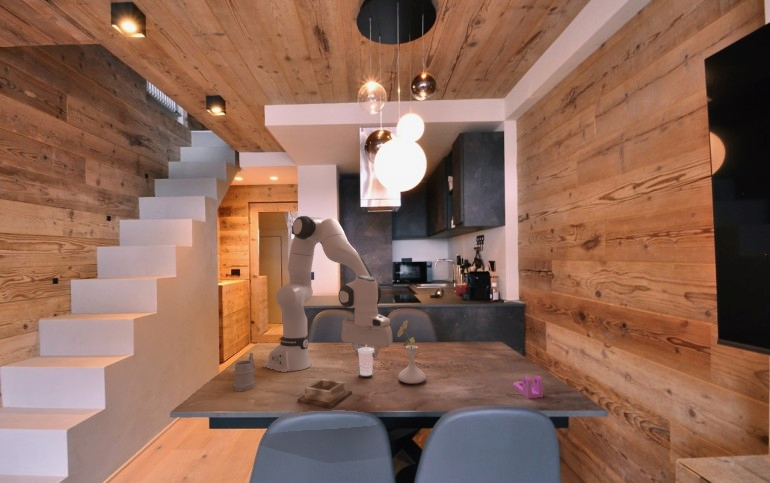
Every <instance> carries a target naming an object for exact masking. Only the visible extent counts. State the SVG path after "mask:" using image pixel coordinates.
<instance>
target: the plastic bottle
mask: <svg viewBox="0 0 770 483" xmlns="http://www.w3.org/2000/svg"><path fill="white" fill-rule="evenodd" d="M357 347H358V349H359V348H363V347H366V345H365V344H358V345H357ZM367 347H370V348H373V345H367ZM374 371H375V369H374V368H373V369H372V374H371V375H367V376H364V375H361V374H360V365H359V364H358V367H357V372H358V375H359V377H361V378H362V377H363V378H370V377H373V375H374Z"/></svg>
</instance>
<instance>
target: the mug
mask: <svg viewBox="0 0 770 483" xmlns="http://www.w3.org/2000/svg"><path fill="white" fill-rule="evenodd" d="M253 353H254V352H250V353H249V355H248V360H247V359H246V360H239V361H237V362H235V365H234V371H233V374H234V378H233V379H234V380H233V383H232V384H233V385H232V387H233V390H234V391H235V390H236V392H245V391H249V389H250V390H251V388H252V389H253V388H254V385H255V380H254V376H255V374H256V373H255V369H256V368H255V367H256V366H255V360H254V357H253V356H254V354H253Z"/></svg>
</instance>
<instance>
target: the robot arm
mask: <svg viewBox="0 0 770 483" xmlns="http://www.w3.org/2000/svg"><path fill="white" fill-rule="evenodd" d="M292 234H293V235H294V237H293V240H292V243H291V245H290V251H289V257H288V264H287V272H288V274H289V275H288V276H289V277H288V278H289V283H287V284H284V285H282V286H281V287H280V288H278V290H277V292H276V295H275V299H276V300H275V301H276V303H277V304H278V305H279V308H280V312H281V316H282V326H283V327H282V329H283V331H282V334H283V335H282V336H281V337H278V341H279V342H280V343H279V345H277V346H276V347H275V348H274V349H273V350H271V351H270V352H269V355H268V360H267V361H266V362H265V363H264V364H263V365H262V367H263V368H265V367H267V368H266V369H268V368H270V369H269V370H272V369H274V370H273V371H276V370H277V372H279V371H281V372H280V373H287V371H288V372H294V371H301V370H305V369H308V368H310V367H311V366H312V363H311V359H310V354H309V334H308V317H307V315H306V313H305V308H304V305H305V304H306V303H308V302H309V301H310V300H311V299H312V296H313V294H314V292H313V287H312V268H313V262H314V254H315V248H316V245H317V244H318V243H320V245H321V247H322V250H323V253H324V255H325V256H326V257H327V259H328V260H329V261H332V262H334V263H338V264H340V265H343V266H347V267H348V268H350V269H351V270H352V271H353V272H354V274H355V276H356V277H355V279H354V280H353V281H351V282H348V283H345V284H343V285H342V286H341V287H340V289H339V292H338V301H339V303H340V304H341V306H342V307H343V308H347V309H353V308H354V317H345V318H344V319H342V322H341V325H342V328H341V335H340V339H341V341H342V342H343V343H350V344H351V347H352V349H353V350H354V356H359V352H358V344H365V345H373V346H374V352H373V353H372V357H373V359H377V358H378V356H379V352H380V350H381V347H383V348H388V347H390V346H392V344H393V331H392V327H391V326H390V325H389V324H390V323H391V319H390V318H389V317H386V316H385V315H382V314H380V313H379V309H378V305H379V304H380V302H381V301H382V298H383V291H382V288H381V286H380V285H379V283H378V282H377V279H376V278H375V277H374V276H373V275H372V273H371V271H370V269H369V268H368V266H367V264H366V262H365V261H364V259H363V257H362V255H361V254H360V253H359V252H358V251H357V250H356V249H355V248H354V247H353V246H352V245H351V243H350V241H349V240H348V238H347V235H346V233H345V231H344V229H343V227H342V226H341V223H339V221H338V220H336V219H334V218H325V219H324V218H323V217H322V218H321V217H313V216H308V215H300V216H297V217H296V218H295V220H294V221H293V224H292ZM373 346H372V347H373Z"/></svg>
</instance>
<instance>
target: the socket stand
mask: <svg viewBox="0 0 770 483" xmlns="http://www.w3.org/2000/svg"><path fill="white" fill-rule="evenodd" d="M352 394H353V390H348V389H346V382H345V381H340V380H334V379H333V380H332V379H326V378H320V379H319V380H316V381H315V382H312V383H311V384H309V385H308V386H306V387H304V395H302V396H301V397H299V398H297V400H296V401H297V403H301V404H306V405H312V406H317V407H321V408H326V409H332V408H335V407H336V406H337V405H338V404H340V403H341V402H343V401H344V400H345V399H347V398H348V397H349V396H351V395H352Z"/></svg>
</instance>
